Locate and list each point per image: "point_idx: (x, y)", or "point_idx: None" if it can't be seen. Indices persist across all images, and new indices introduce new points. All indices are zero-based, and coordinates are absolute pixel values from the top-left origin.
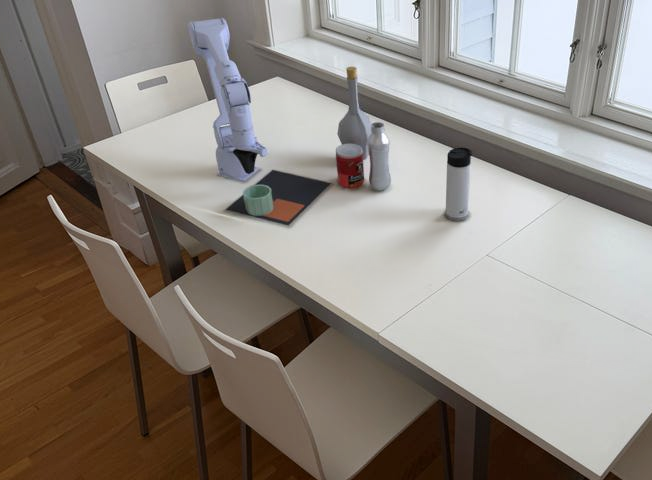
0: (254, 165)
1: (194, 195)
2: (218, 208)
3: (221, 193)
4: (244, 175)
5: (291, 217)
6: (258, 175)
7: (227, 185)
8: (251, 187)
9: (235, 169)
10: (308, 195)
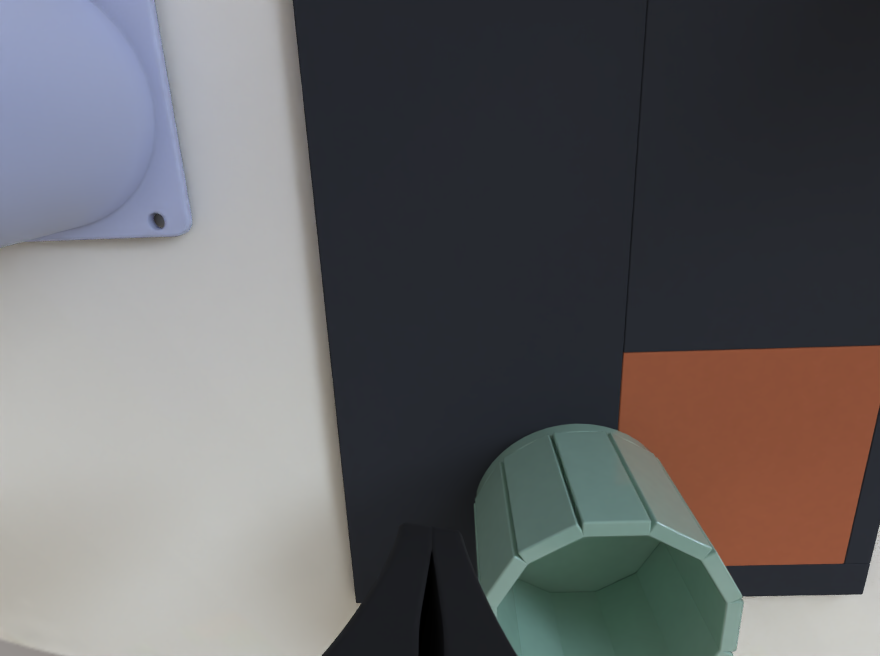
0: (476, 580)
1: (28, 533)
2: (294, 590)
3: (167, 443)
4: (136, 176)
5: (848, 518)
6: (218, 62)
7: (114, 333)
8: (510, 587)
9: (40, 236)
10: (870, 199)
